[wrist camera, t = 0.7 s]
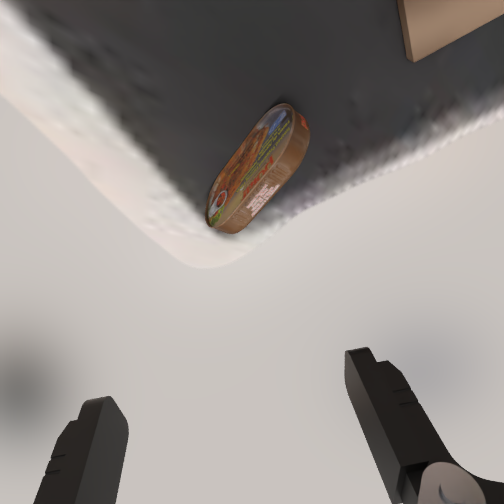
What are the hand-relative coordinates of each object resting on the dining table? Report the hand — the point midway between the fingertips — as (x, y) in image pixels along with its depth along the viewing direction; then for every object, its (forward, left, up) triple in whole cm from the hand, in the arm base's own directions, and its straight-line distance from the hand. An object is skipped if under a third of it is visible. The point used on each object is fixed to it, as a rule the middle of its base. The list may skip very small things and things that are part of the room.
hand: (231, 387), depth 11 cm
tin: (+8, -1, -30) cm, 31 cm away
